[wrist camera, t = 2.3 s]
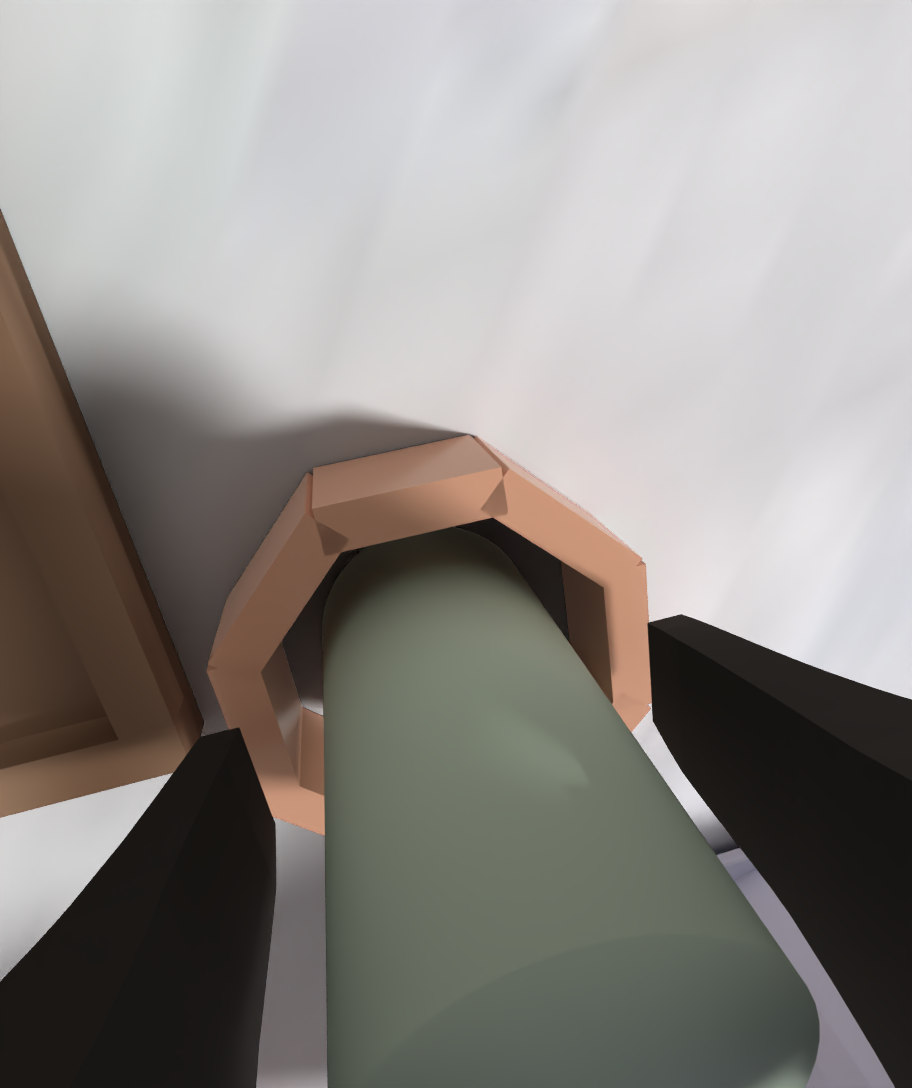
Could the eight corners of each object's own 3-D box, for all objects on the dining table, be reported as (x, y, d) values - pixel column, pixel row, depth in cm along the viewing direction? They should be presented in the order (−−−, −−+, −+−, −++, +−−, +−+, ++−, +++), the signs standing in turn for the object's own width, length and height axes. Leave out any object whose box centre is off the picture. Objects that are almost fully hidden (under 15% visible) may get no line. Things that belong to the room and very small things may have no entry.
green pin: (515, 503, 13) (835, 867, 5) (539, 682, 15) (807, 1168, 7) (297, 553, 13) (260, 1045, 5) (349, 732, 14) (390, 1323, 6)
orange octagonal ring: (584, 410, 13) (638, 437, 11) (611, 721, 16) (658, 792, 14) (187, 494, 12) (157, 543, 10) (296, 806, 15) (292, 897, 13)
